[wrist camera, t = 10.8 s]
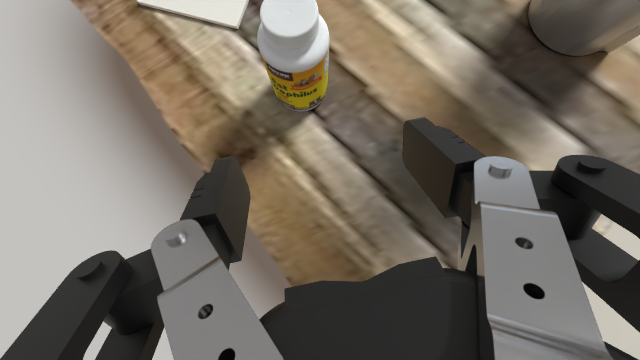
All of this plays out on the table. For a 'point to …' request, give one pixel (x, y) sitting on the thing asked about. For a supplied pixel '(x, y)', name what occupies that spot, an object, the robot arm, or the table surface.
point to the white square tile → (204, 9)
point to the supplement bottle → (295, 51)
